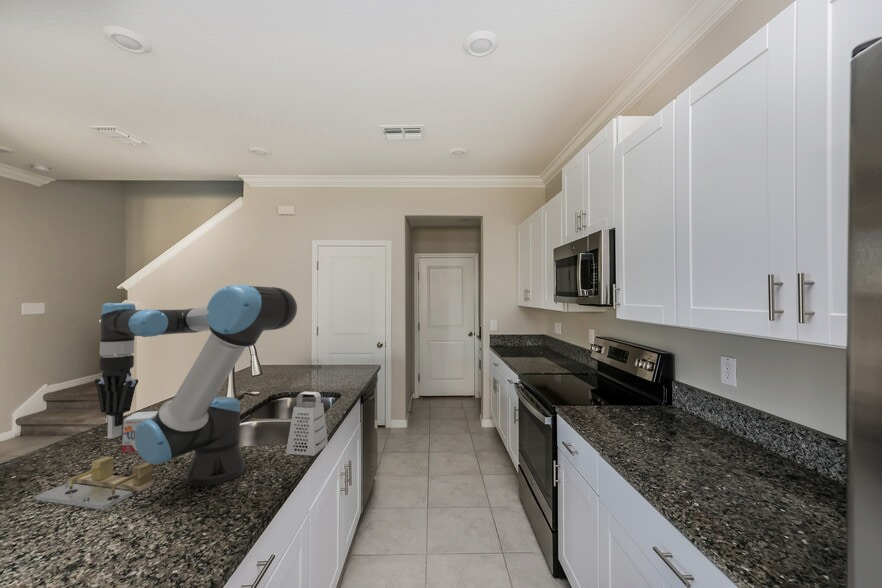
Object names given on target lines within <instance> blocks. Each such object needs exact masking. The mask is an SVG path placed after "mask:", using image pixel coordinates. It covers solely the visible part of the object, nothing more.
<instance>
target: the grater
mask: <svg viewBox="0 0 882 588" xmlns="http://www.w3.org/2000/svg"><path fill="white" fill-rule="evenodd" d="M303 395H313V396H314V397H315V401H303ZM321 401H322V395H321V394H320V392H319V391H303V392H300V393H298V394H297V396H296V405H295V406H293V409H292V415H291V421H290V425H289V426H290V427H289V433H288V440H287V445H286V450H285V454H289V455H290V454H291V455H301V456H302V455H303V456H313V457H314V456H316V455H317V454H318V453H320V451H322V450H323V449H324V448H325V447H327V446H328V445H329V442H328V435H327V434H328V433H327V425H326V417H325V409H324V408H325V407H324V402H321ZM302 443H303V444H302ZM305 443H306V444H305ZM300 446H301V447H300ZM303 446H304V447H303ZM306 446H307V448H306ZM304 450H305V451H304Z"/></svg>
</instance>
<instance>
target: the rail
mask: <svg viewBox="0 0 882 588" xmlns="http://www.w3.org/2000/svg"><path fill="white" fill-rule="evenodd" d="M153 467H154V464H150V463H147V462H146V461H145V462H142V463H141V464H139V465H136V466H134V467H132V475H130V476H120V475H111V476H109V477H106V478H104V479H102V480H92V479H91V474H90V475H87V476H85V477H82V478H80V479H77V480H76V484H81V485H89V486H96V487H104V488H111V489H112V495H114V494H115V489H118V490H126V491H136V492H141V491H144V490H145V489H147V488H149V487H151V486H153V485H154V480H153V471H154V470H153Z"/></svg>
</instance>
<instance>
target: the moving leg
mask: <svg viewBox="0 0 882 588" xmlns="http://www.w3.org/2000/svg"><path fill="white" fill-rule="evenodd" d="M114 469H115V457H113V456H107V455H106V456H104V457H100V458H98V459H95V460H92V461H91V470H88V471H86V472H84V473H81V474H78V475H75V476H74V477H73V476H72V477H71V478H69V482H68V483H70V486H69V489H72V488H73V484H74V481H77V479H80V478H82V477H85V476H87V475H90V474H91V479H92V480H102V479H104V478H106V477H109V476H111V475H112V476H114Z"/></svg>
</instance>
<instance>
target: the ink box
mask: <svg viewBox="0 0 882 588" xmlns="http://www.w3.org/2000/svg"><path fill="white" fill-rule="evenodd" d="M158 411H159V410H158ZM158 411H154V410H153V411H137V412H134V413H132V414H131V415H129V416H127V417H126V418H123V424H122V442H121V443H122V445H121V446H122V447H121V453H122V454H124V453H123V452H127V453H135V452H134V451H138V450H137V448H136V443H135V431H136V428H137V426H138V425H139V424H140V423H141V422H143V421H145V420H146V419H152V418H154V417H155V416H156V414H157V413H158Z"/></svg>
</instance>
